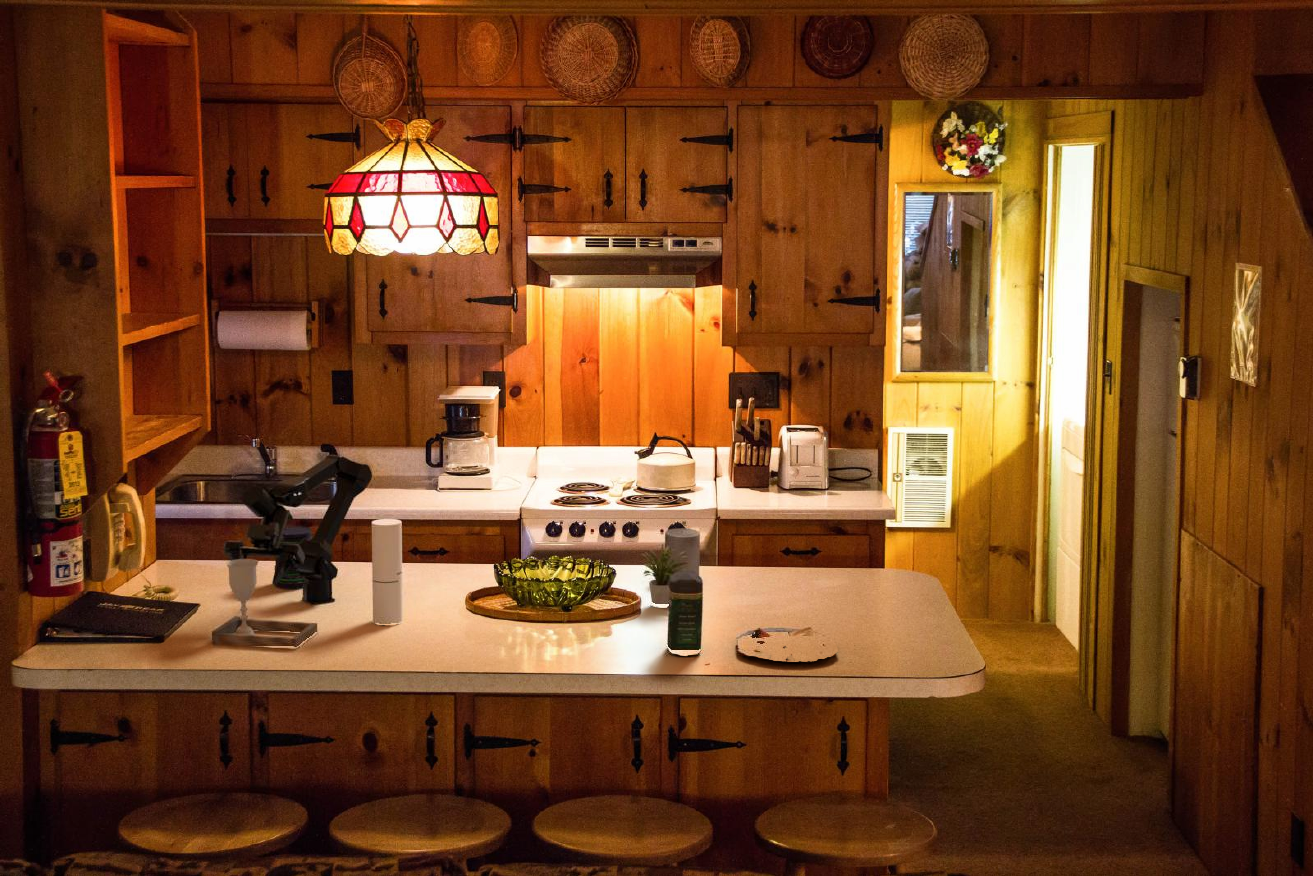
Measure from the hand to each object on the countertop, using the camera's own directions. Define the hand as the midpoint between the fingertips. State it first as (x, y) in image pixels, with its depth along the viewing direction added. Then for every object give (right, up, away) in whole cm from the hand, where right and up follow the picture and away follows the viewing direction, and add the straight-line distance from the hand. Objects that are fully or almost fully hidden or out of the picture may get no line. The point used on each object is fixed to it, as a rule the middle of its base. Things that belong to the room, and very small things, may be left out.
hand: (255, 583), depth 347 cm
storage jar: (-1, -5, +42) cm, 42 cm away
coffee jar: (+102, -15, -9) cm, 104 cm away
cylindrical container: (+30, -11, +10) cm, 33 cm away
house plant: (+97, -9, +28) cm, 101 cm away
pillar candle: (+103, -5, +54) cm, 116 cm away
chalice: (-1, -12, -5) cm, 13 cm away
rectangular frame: (+4, -12, -6) cm, 14 cm away
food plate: (+126, -16, -7) cm, 127 cm away
